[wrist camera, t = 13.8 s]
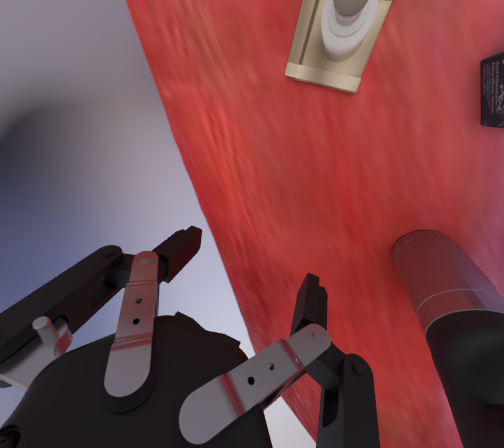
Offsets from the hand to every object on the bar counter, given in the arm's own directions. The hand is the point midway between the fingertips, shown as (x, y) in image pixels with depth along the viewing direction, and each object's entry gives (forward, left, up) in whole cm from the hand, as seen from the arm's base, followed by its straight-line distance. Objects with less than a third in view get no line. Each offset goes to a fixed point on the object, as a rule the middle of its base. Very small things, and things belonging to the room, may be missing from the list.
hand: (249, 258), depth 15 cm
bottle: (0, -18, -27) cm, 32 cm away
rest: (+1, -18, -28) cm, 33 cm away
